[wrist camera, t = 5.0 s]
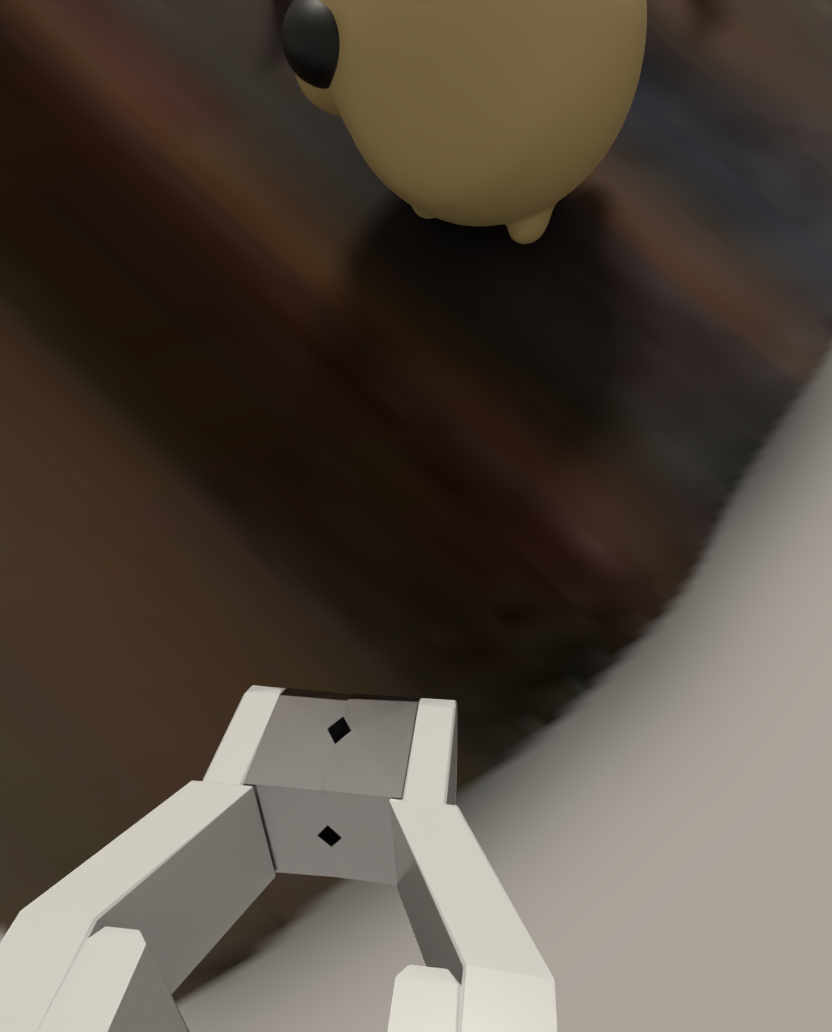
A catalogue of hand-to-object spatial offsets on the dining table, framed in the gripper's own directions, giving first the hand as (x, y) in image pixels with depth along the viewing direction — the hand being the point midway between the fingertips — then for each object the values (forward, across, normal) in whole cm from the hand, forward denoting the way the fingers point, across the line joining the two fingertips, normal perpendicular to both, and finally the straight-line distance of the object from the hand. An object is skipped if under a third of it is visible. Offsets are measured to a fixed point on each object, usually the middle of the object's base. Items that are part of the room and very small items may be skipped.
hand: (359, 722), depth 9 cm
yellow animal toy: (+25, 0, -6) cm, 25 cm away
